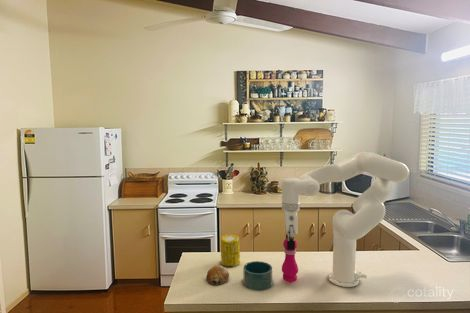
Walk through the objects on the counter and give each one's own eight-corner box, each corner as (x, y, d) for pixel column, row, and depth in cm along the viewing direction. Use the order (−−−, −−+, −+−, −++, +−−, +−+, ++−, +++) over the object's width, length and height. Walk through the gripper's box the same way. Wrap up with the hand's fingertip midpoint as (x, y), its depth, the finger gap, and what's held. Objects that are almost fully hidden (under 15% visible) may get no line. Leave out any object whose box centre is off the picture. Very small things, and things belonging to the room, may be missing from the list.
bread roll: (231, 287, 144) (234, 268, 146) (219, 286, 135) (223, 267, 138) (212, 281, 149) (216, 264, 151) (200, 281, 140) (205, 262, 143)
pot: (271, 276, 146) (271, 261, 146) (272, 290, 134) (272, 274, 133) (244, 275, 148) (244, 260, 147) (242, 289, 135) (242, 273, 134)
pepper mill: (286, 273, 146) (287, 231, 144) (301, 278, 142) (301, 234, 140) (278, 279, 141) (278, 235, 139) (293, 284, 136) (293, 239, 134)
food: (239, 262, 165) (236, 272, 155) (218, 256, 166) (213, 265, 156) (246, 235, 162) (243, 243, 152) (224, 229, 163) (219, 237, 153)
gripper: (301, 211, 129) (301, 254, 131) (297, 201, 146) (296, 239, 148) (283, 211, 130) (282, 254, 131) (280, 201, 147) (280, 239, 149)
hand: (290, 246), depth 140 cm, fingers closed on pepper mill, 6 cm apart
